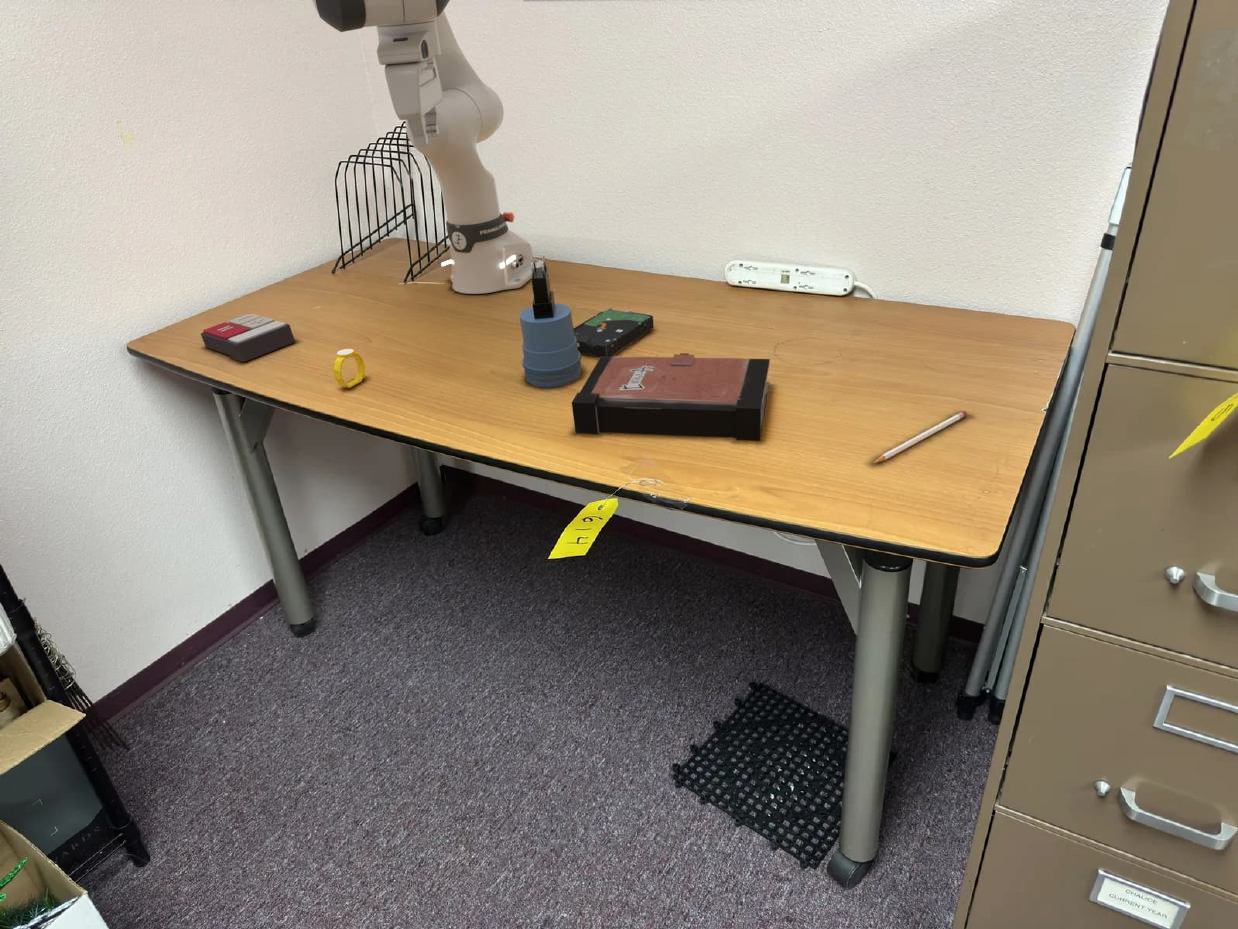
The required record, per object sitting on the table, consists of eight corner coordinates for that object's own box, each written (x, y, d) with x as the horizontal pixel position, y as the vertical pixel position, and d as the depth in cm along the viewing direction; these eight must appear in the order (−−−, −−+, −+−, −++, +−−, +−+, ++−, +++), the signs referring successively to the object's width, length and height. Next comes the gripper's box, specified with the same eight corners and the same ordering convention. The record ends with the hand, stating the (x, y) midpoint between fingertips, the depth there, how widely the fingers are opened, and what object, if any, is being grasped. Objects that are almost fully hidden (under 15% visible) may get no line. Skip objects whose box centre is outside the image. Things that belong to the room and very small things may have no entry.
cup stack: (546, 359, 141) (537, 298, 135) (593, 368, 136) (586, 305, 130) (513, 383, 134) (502, 319, 128) (562, 392, 129) (553, 327, 123)
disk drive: (608, 361, 138) (655, 328, 148) (607, 346, 137) (654, 314, 147) (560, 351, 144) (608, 320, 154) (558, 336, 142) (606, 306, 152)
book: (769, 384, 126) (770, 354, 123) (760, 440, 111) (760, 408, 109) (604, 380, 132) (601, 351, 129) (575, 433, 117) (571, 402, 115)
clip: (536, 307, 131) (529, 255, 127) (555, 305, 131) (548, 253, 127) (534, 319, 127) (526, 266, 123) (553, 317, 127) (546, 264, 122)
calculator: (250, 310, 164) (289, 320, 155) (257, 331, 167) (296, 341, 157) (198, 329, 158) (235, 340, 148) (206, 350, 160) (243, 362, 151)
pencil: (966, 416, 112) (967, 412, 112) (876, 466, 104) (876, 461, 103) (961, 414, 113) (962, 410, 112) (871, 463, 104) (871, 459, 104)
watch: (348, 393, 136) (339, 360, 133) (335, 391, 137) (325, 358, 134) (371, 377, 140) (362, 345, 137) (358, 376, 141) (349, 344, 138)
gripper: (404, 41, 133) (420, 132, 141) (373, 52, 116) (394, 154, 123) (442, 38, 133) (457, 129, 140) (417, 48, 116) (436, 151, 123)
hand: (427, 141), depth 132 cm, fingers open, 8 cm apart
